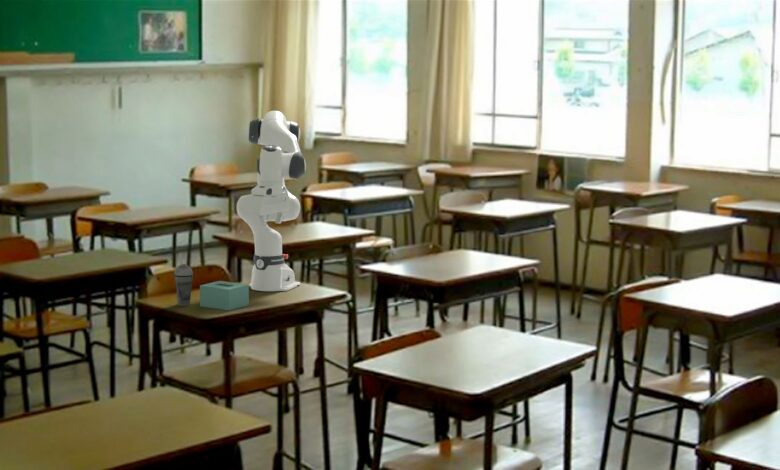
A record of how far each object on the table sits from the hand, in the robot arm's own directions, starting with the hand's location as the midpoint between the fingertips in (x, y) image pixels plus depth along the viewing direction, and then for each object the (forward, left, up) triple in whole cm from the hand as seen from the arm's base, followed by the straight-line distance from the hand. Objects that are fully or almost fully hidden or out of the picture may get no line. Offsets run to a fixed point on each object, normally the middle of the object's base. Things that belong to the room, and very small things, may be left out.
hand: (271, 224), depth 459 cm
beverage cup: (+18, -28, -31) cm, 46 cm away
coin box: (+11, -14, -31) cm, 36 cm away
